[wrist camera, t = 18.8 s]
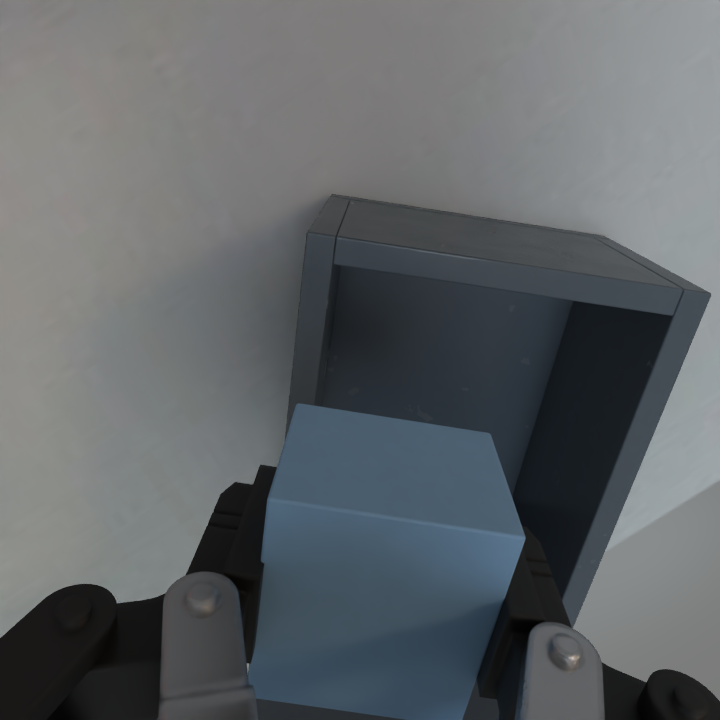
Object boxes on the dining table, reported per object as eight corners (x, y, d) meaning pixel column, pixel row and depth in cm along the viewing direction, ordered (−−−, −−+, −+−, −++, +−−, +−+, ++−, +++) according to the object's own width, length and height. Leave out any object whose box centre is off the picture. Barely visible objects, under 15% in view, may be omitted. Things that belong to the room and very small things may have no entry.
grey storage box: (331, 193, 28) (306, 231, 19) (605, 235, 28) (712, 293, 19) (297, 473, 35) (267, 602, 26) (519, 505, 35) (567, 643, 26)
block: (296, 401, 13) (266, 498, 10) (491, 432, 13) (527, 538, 10) (275, 570, 15) (244, 698, 12) (443, 595, 15) (460, 728, 12)
